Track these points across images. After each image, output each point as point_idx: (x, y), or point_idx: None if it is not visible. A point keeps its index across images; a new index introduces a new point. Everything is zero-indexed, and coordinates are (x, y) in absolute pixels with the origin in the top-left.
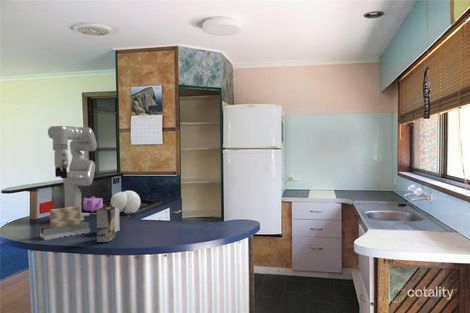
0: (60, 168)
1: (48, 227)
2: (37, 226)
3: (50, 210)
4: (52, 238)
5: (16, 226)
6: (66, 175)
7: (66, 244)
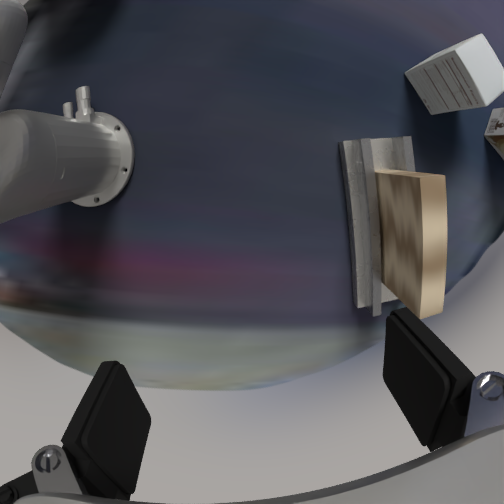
0: (77, 477)
1: (380, 290)
2: (148, 302)
3: (428, 314)
4: None
5: (116, 358)
6: (421, 331)
7: (483, 238)
